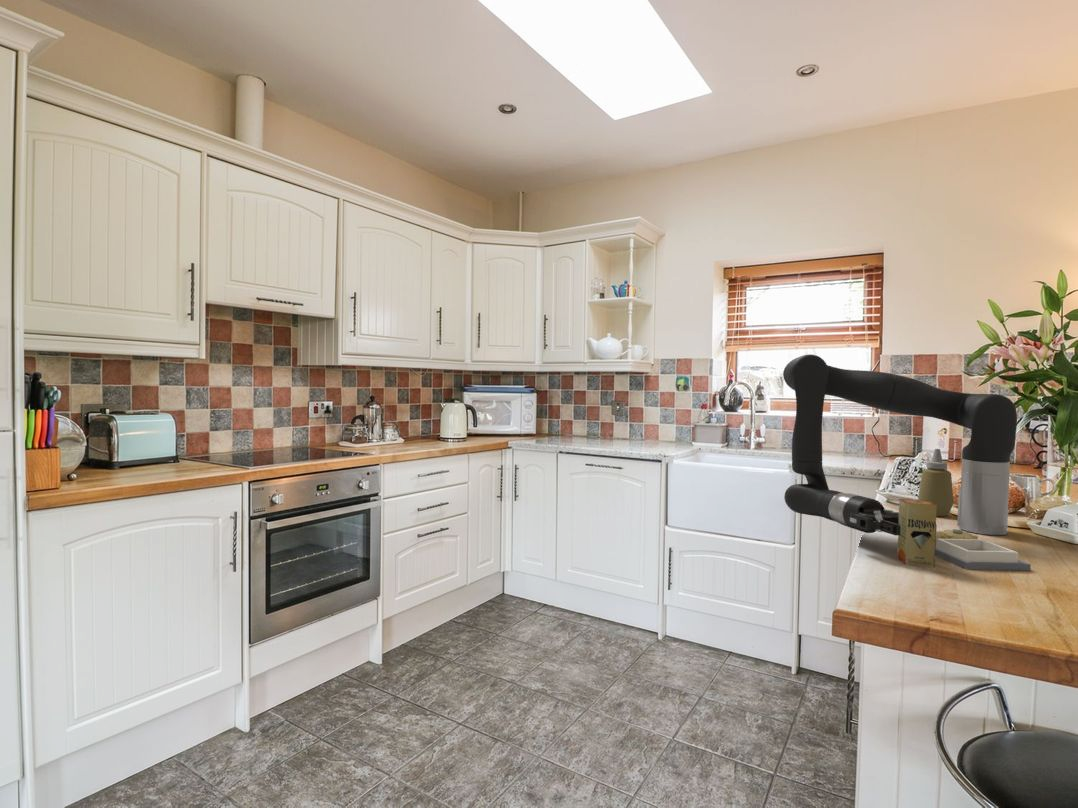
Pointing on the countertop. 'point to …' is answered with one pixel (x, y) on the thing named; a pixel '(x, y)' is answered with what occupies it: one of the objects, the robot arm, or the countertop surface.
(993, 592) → the countertop surface
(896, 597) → the countertop surface
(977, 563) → the gear board
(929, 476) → the squeeze bottle
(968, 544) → the square socket
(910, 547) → the shoe polish box
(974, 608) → the countertop surface
